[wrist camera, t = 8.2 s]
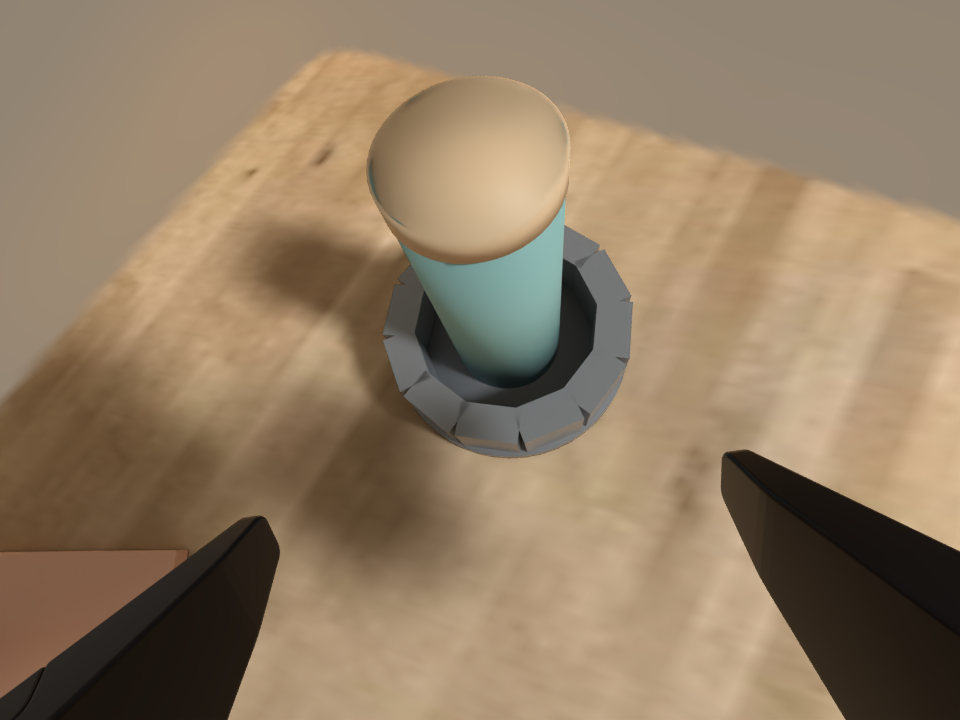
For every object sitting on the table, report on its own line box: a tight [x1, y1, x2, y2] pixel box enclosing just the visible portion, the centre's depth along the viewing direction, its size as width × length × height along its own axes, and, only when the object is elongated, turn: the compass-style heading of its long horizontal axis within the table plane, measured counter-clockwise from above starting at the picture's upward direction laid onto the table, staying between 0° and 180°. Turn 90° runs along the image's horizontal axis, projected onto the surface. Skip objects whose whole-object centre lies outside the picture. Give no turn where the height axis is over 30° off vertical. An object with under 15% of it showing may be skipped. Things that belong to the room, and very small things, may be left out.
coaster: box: [0, 550, 188, 698], centre depth 17 cm, size 9×9×1 cm
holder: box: [383, 225, 633, 458], centre depth 18 cm, size 9×9×3 cm
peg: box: [366, 76, 571, 389], centre depth 14 cm, size 4×4×10 cm
